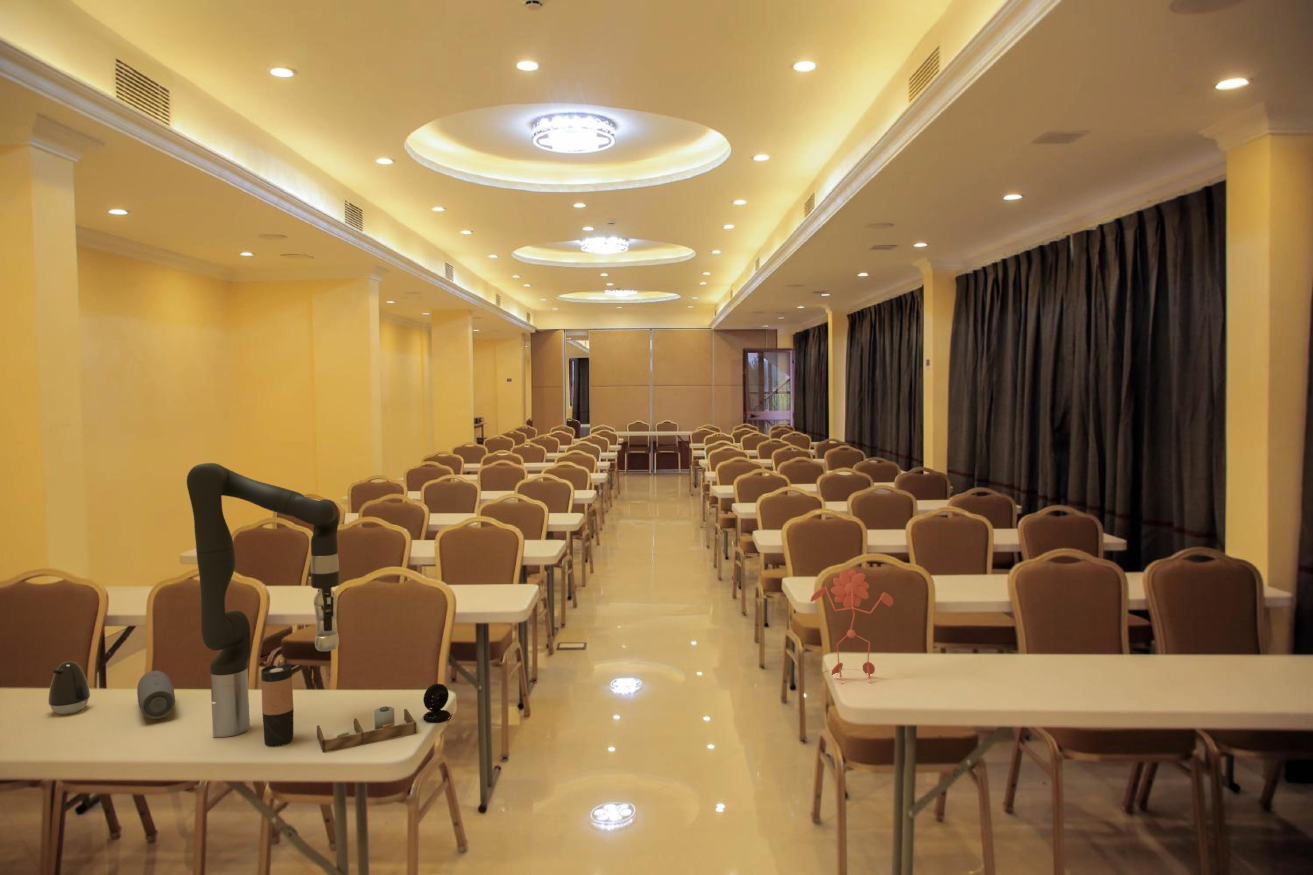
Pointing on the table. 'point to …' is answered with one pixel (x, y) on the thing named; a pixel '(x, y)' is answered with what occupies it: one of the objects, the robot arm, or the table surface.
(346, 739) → the slot rack
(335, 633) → the plastic bottle
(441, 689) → the webcam
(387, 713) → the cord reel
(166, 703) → the bluetooth speaker
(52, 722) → the table surface
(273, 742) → the travel mug
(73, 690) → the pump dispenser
